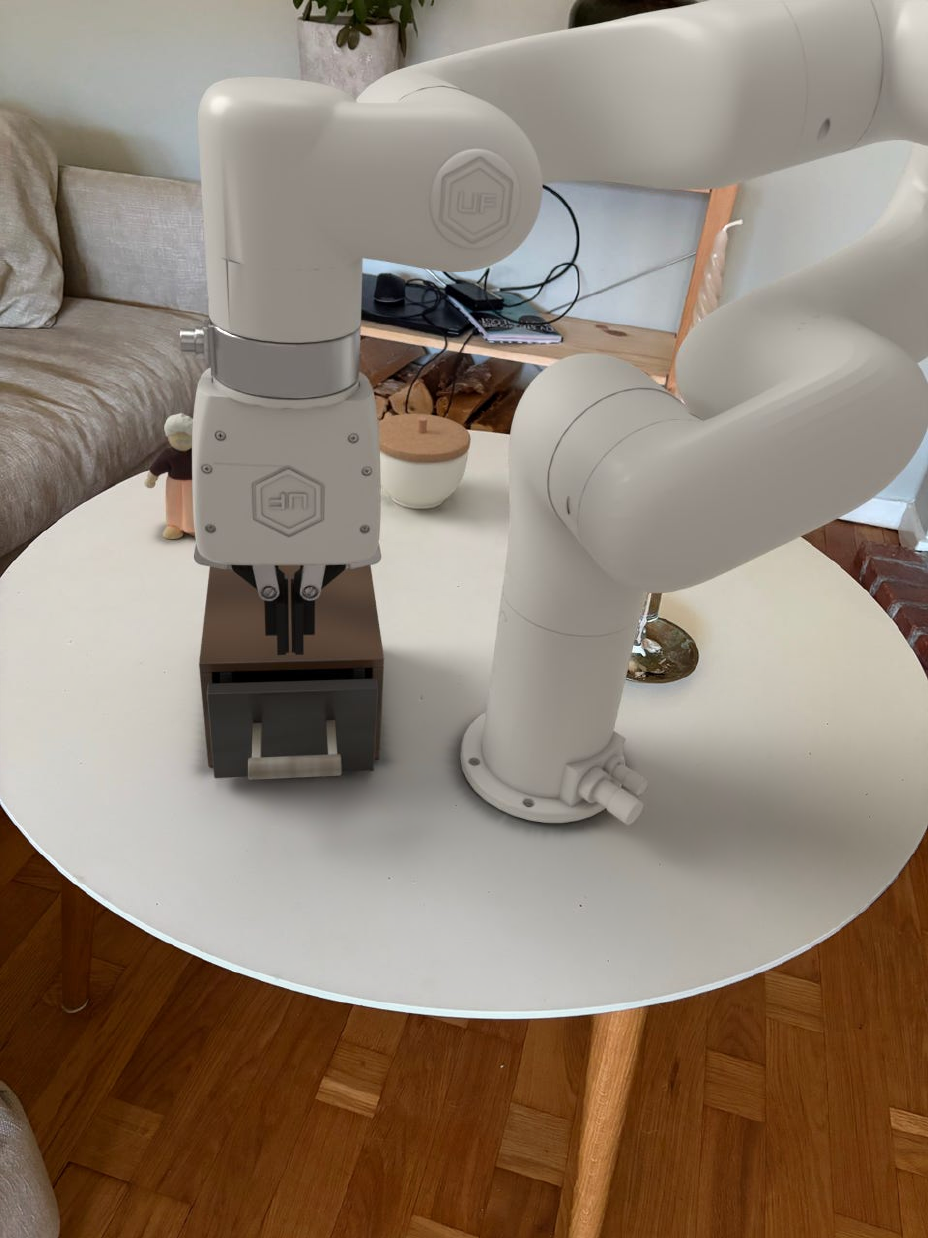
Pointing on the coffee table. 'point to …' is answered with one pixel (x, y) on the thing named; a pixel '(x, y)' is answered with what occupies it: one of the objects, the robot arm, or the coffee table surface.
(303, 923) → the coffee table surface
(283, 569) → the cabinet
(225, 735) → the pull-out drawer
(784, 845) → the coffee table surface
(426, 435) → the trinket box
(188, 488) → the grandmother figurine
